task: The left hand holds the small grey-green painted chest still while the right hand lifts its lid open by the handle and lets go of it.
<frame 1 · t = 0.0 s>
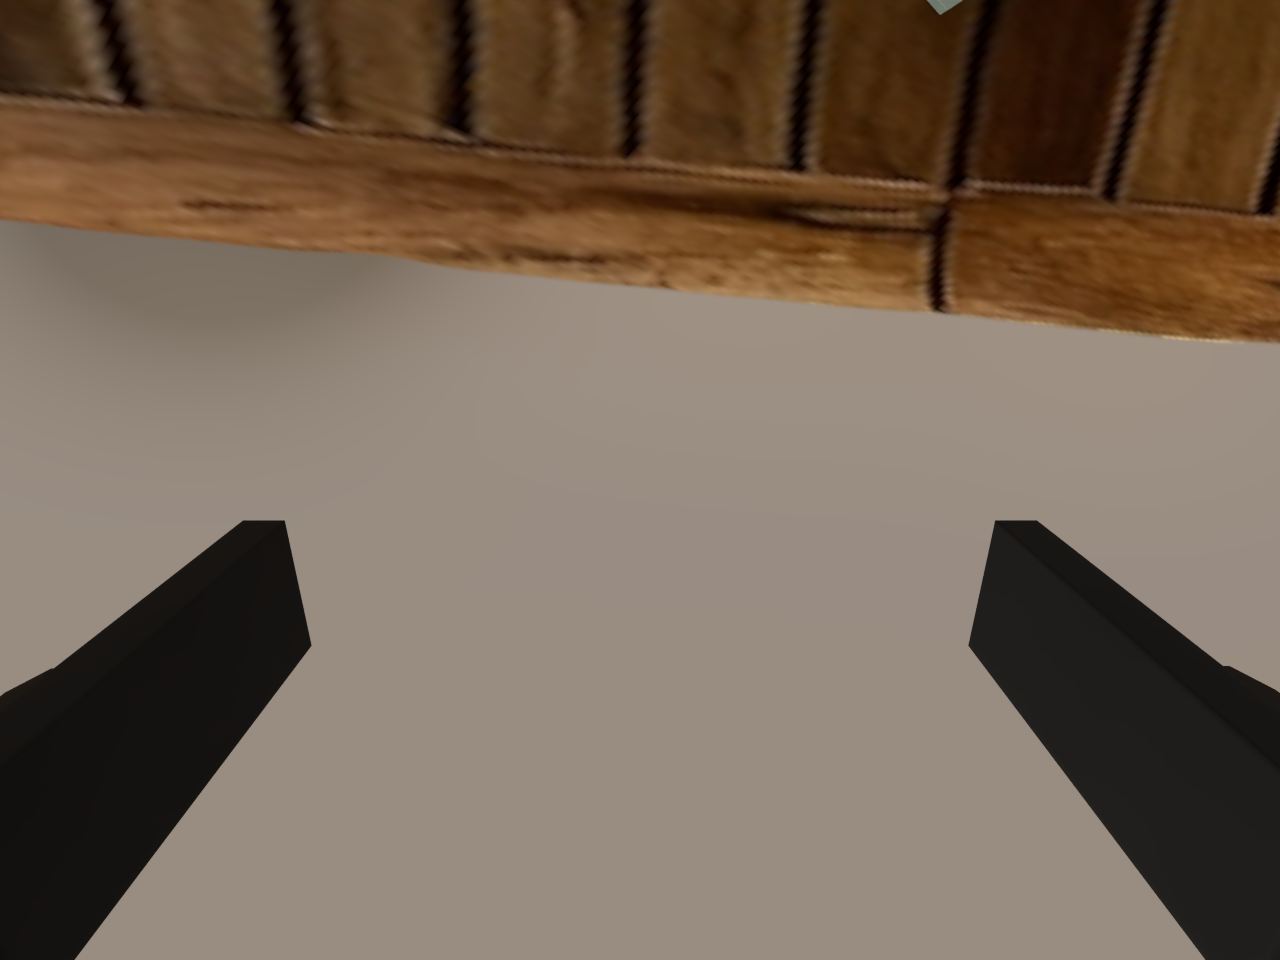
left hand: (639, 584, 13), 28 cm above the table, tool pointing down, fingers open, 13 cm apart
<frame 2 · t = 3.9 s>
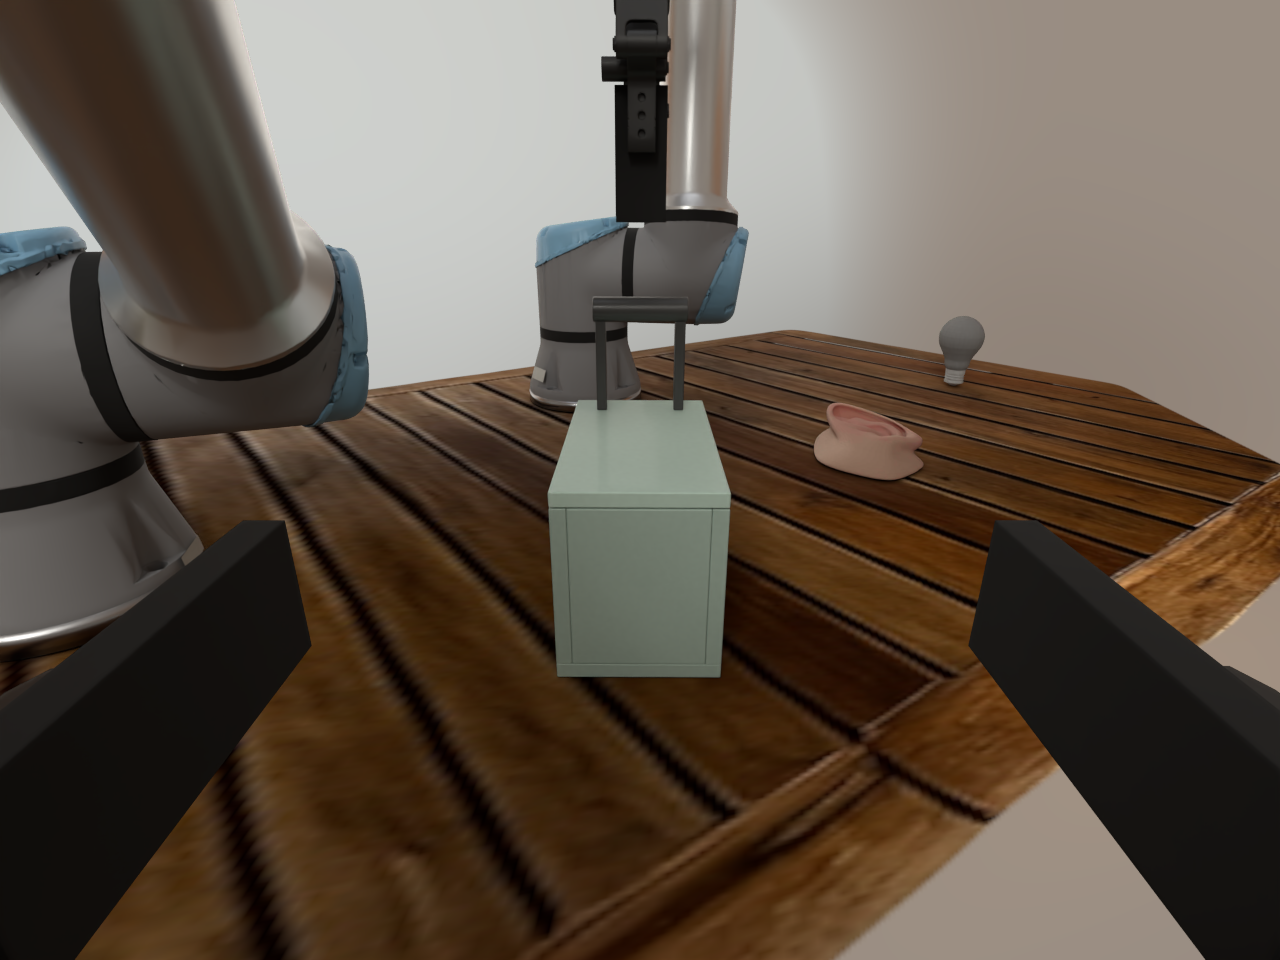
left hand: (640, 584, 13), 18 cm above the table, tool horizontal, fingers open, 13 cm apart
lid: (640, 383, 41), point 15 cm above the table, hinge at 0.0°
chest: (639, 598, 46), on the table
anatomical model: (865, 457, 72), on the table
light bulb: (952, 386, 101), on the table
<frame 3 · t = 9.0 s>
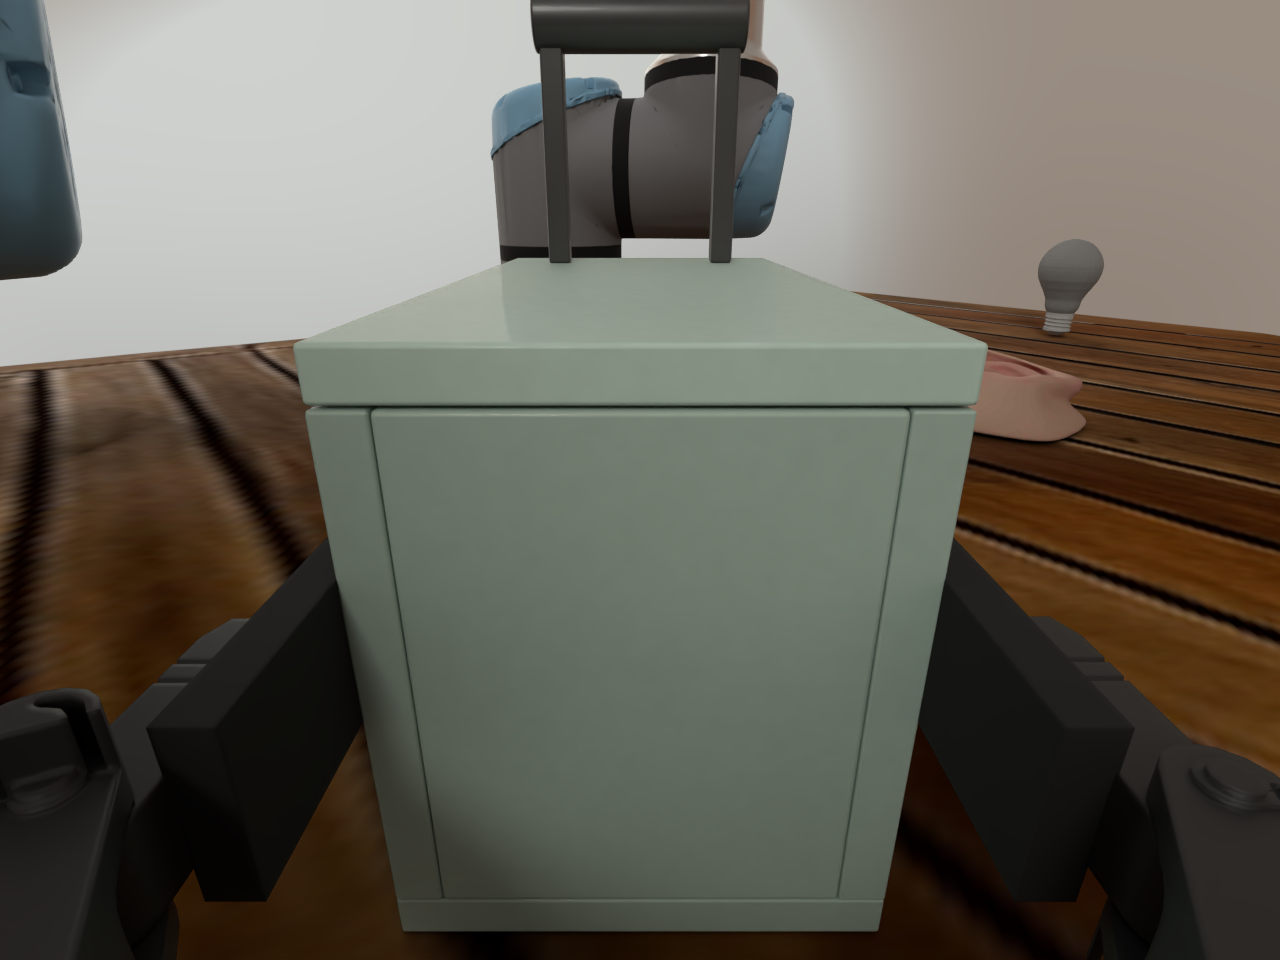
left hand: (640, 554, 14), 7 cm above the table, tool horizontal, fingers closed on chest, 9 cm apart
lid: (640, 127, 16), point 15 cm above the table, hinge at 0.0°
chest: (640, 665, 21), on the table, touching left hand
anatomical model: (985, 413, 47), on the table
light bulb: (1055, 335, 76), on the table
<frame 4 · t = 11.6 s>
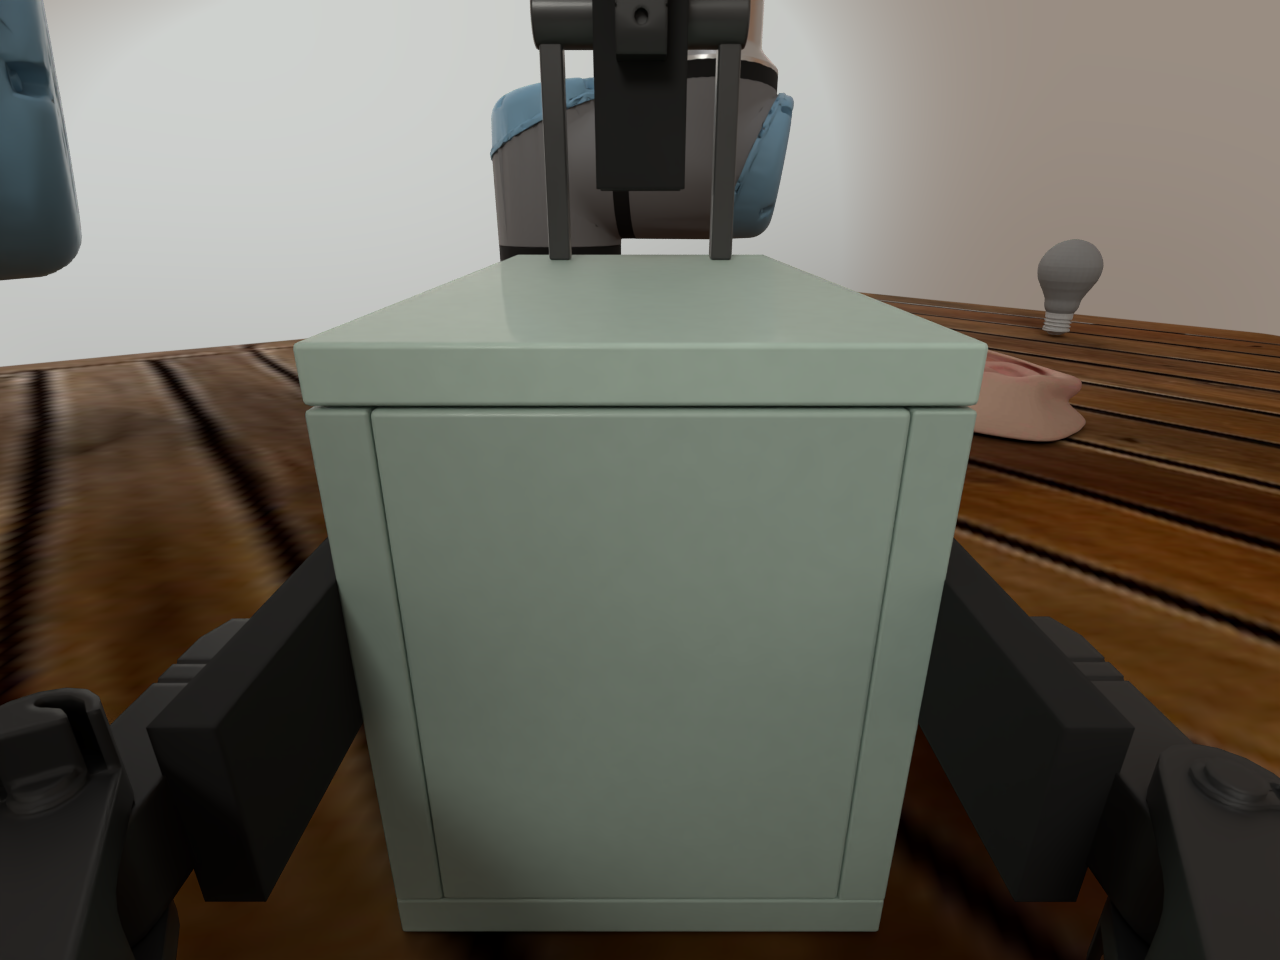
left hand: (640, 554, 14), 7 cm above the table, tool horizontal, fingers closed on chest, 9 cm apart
lid: (640, 124, 16), point 15 cm above the table, hinge at 0.4°, touching right hand
chest: (640, 665, 21), on the table, touching left hand
anatomical model: (985, 413, 47), on the table
light bulb: (1054, 336, 76), on the table
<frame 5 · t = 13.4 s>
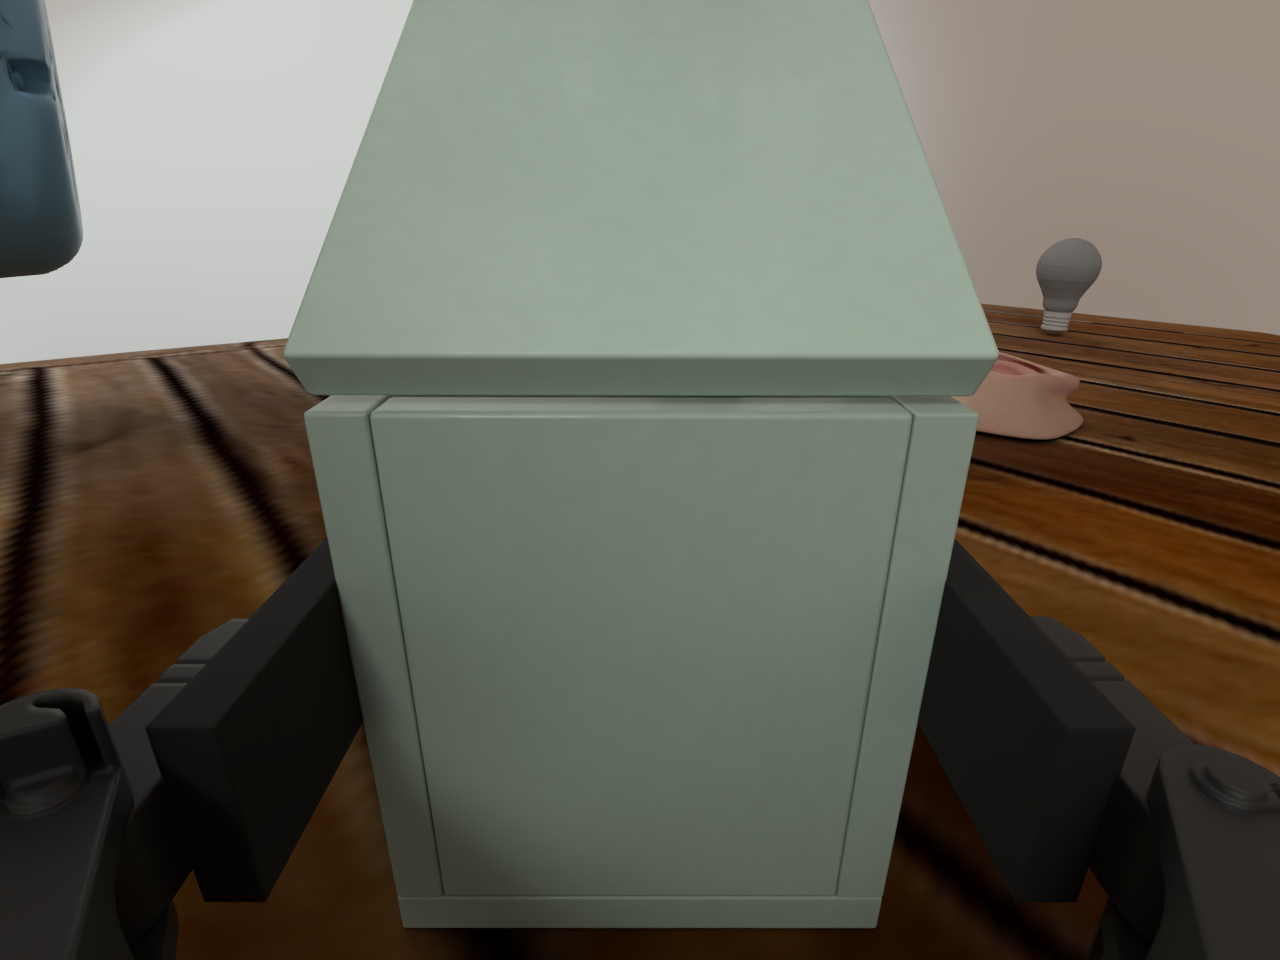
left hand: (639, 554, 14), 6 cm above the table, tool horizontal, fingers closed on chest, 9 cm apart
chest: (639, 661, 21), on the table, touching left hand
anatomical model: (983, 411, 47), on the table
light bulb: (1053, 334, 76), on the table
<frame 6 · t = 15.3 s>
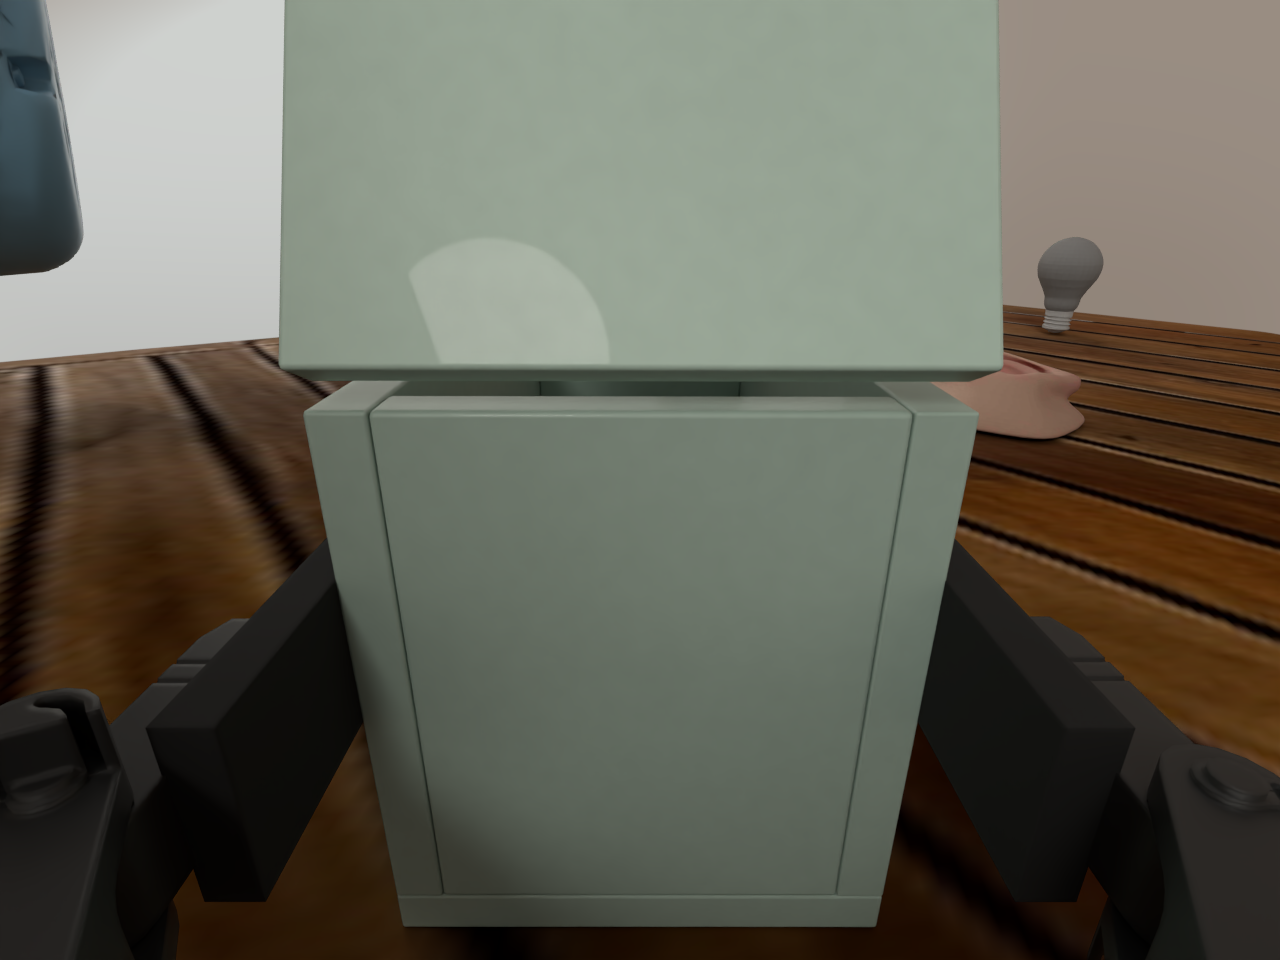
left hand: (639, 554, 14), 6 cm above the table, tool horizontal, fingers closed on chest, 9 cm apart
chest: (639, 660, 21), on the table, touching left hand
anatomical model: (984, 410, 47), on the table
light bulb: (1054, 333, 76), on the table
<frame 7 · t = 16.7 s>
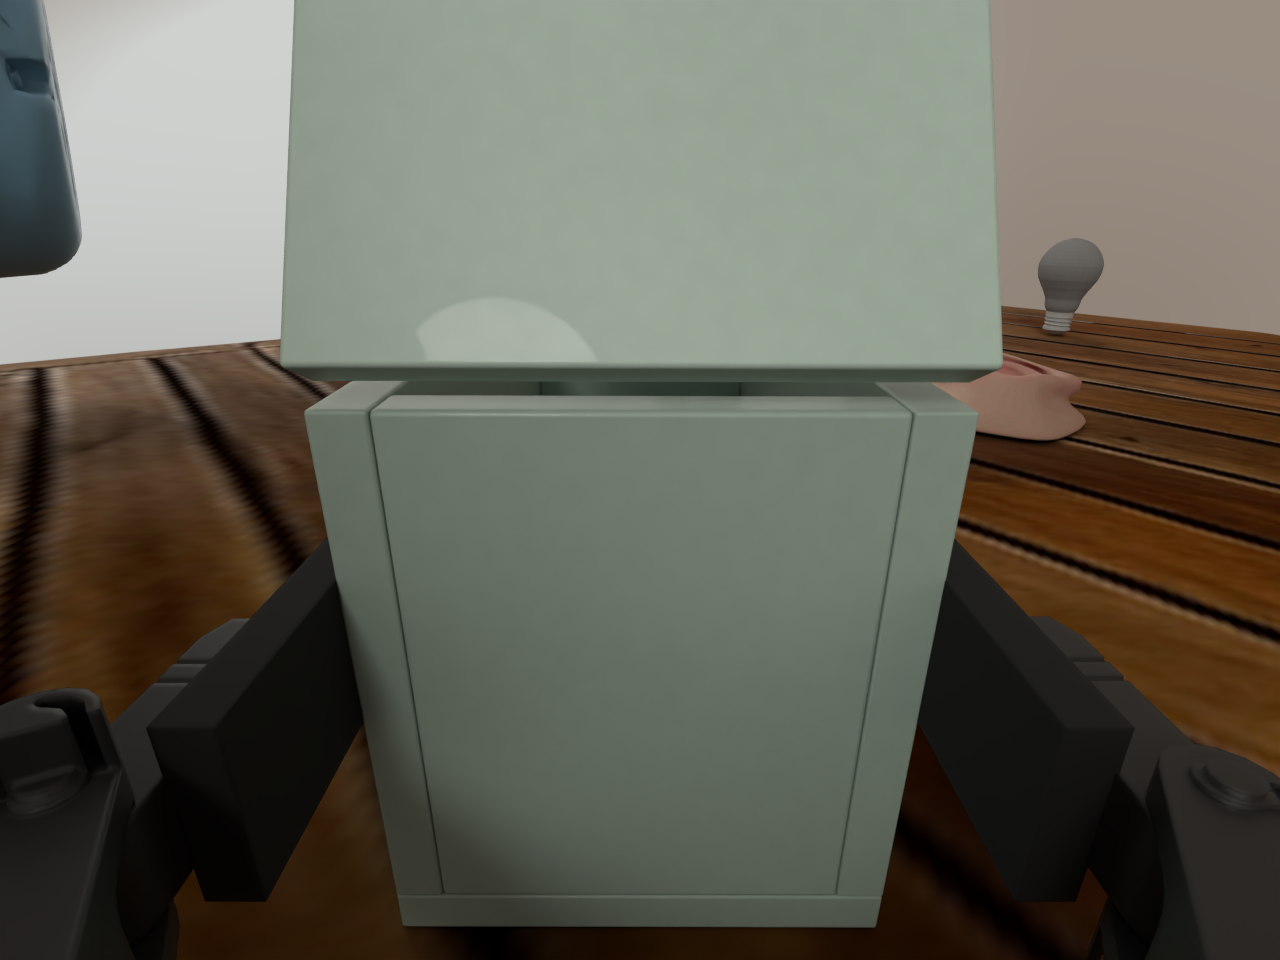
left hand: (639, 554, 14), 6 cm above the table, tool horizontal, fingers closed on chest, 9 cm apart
chest: (639, 660, 21), on the table, touching left hand
anatomical model: (985, 412, 47), on the table
light bulb: (1054, 335, 76), on the table
when the left hand's fingers open (6 cm above the table, at t = 19.2 s): chest stays where it is, on the table.
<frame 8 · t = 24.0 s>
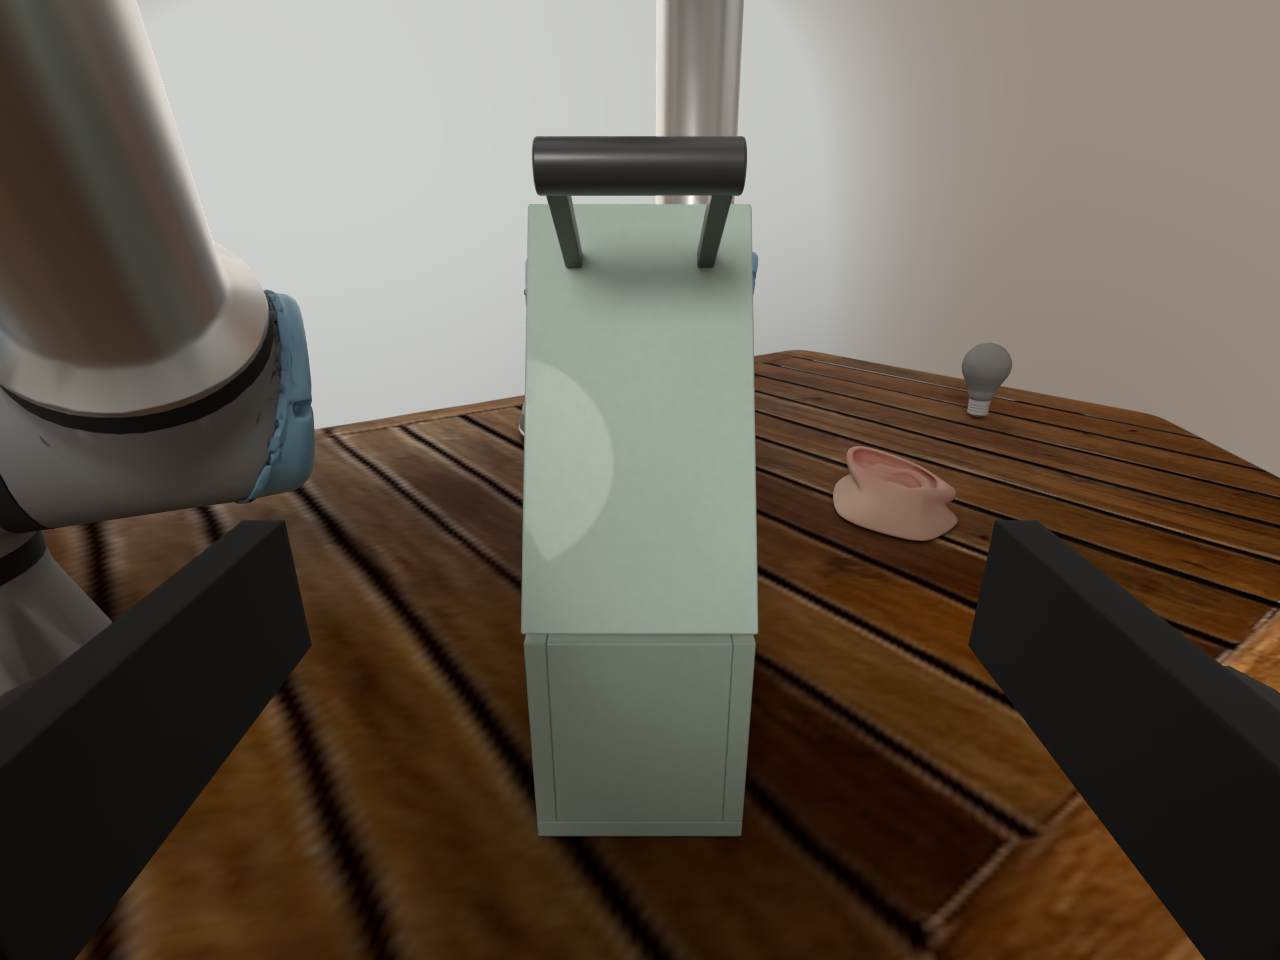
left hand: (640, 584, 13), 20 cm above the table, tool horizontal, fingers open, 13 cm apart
lid: (639, 393, 24), point 21 cm above the table, hinge at 62.9°
chest: (639, 711, 39), on the table
anatomical model: (891, 510, 64), on the table
light bulb: (976, 417, 93), on the table
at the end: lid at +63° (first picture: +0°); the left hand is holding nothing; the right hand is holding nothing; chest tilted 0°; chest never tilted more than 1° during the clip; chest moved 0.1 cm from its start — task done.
